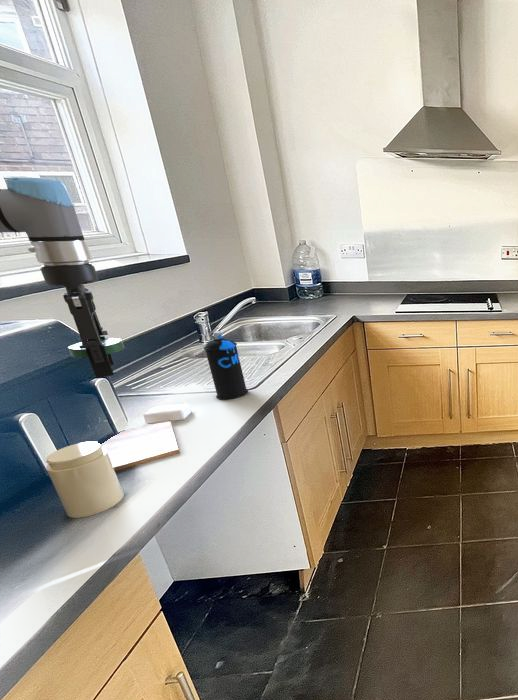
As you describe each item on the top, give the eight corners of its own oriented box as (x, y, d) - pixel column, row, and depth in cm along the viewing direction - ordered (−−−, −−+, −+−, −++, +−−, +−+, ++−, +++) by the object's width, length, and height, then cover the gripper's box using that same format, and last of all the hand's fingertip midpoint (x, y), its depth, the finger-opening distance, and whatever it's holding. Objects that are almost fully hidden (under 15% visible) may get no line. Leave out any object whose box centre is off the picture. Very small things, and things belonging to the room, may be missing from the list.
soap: (192, 411, 117) (190, 401, 116) (185, 420, 112) (181, 410, 111) (154, 415, 114) (151, 405, 113) (145, 424, 110) (141, 414, 109)
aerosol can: (209, 398, 125) (192, 334, 119) (233, 388, 133) (217, 327, 126) (232, 401, 124) (215, 336, 117) (254, 390, 131) (240, 329, 124)
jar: (68, 502, 80) (44, 450, 76) (123, 485, 85) (104, 435, 81) (65, 524, 74) (39, 469, 70) (124, 504, 79) (103, 452, 75)
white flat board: (99, 441, 102) (98, 437, 101) (171, 423, 111) (170, 419, 110) (97, 476, 88) (96, 472, 87) (179, 452, 97) (178, 448, 96)
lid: (66, 360, 83) (63, 351, 82) (76, 350, 89) (73, 342, 89) (121, 353, 87) (118, 344, 87) (127, 343, 94) (124, 336, 93)
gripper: (45, 260, 87) (84, 362, 95) (30, 269, 72) (78, 389, 80) (94, 258, 92) (127, 355, 100) (90, 266, 77) (129, 379, 85)
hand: (105, 370), depth 90 cm, fingers closed on lid, 8 cm apart
